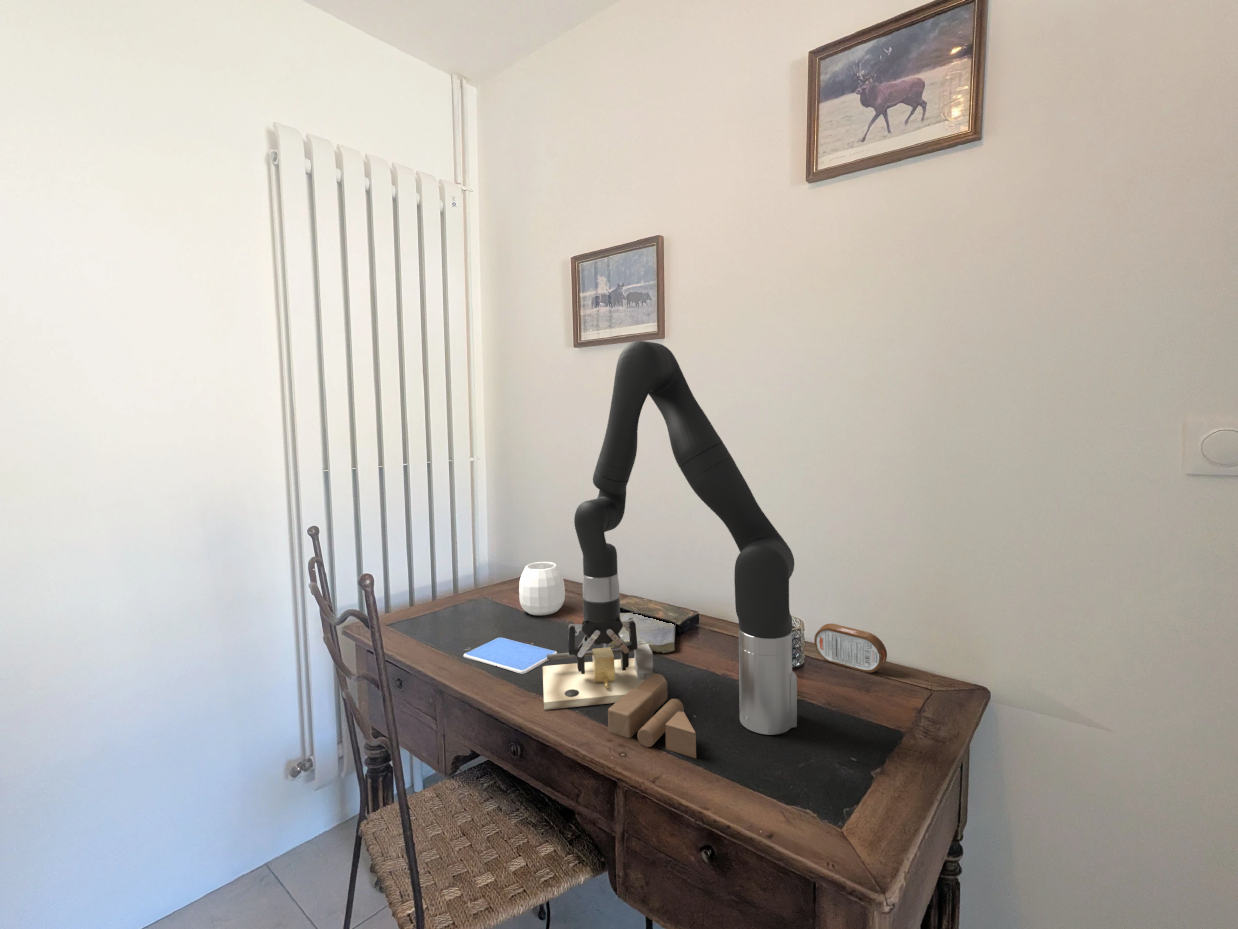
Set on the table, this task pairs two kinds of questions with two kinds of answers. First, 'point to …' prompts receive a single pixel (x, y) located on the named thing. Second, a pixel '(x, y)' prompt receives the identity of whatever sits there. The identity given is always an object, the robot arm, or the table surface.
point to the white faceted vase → (541, 588)
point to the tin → (850, 647)
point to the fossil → (649, 633)
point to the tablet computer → (510, 655)
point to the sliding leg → (603, 665)
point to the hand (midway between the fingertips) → (603, 670)
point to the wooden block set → (641, 708)
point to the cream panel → (593, 680)
